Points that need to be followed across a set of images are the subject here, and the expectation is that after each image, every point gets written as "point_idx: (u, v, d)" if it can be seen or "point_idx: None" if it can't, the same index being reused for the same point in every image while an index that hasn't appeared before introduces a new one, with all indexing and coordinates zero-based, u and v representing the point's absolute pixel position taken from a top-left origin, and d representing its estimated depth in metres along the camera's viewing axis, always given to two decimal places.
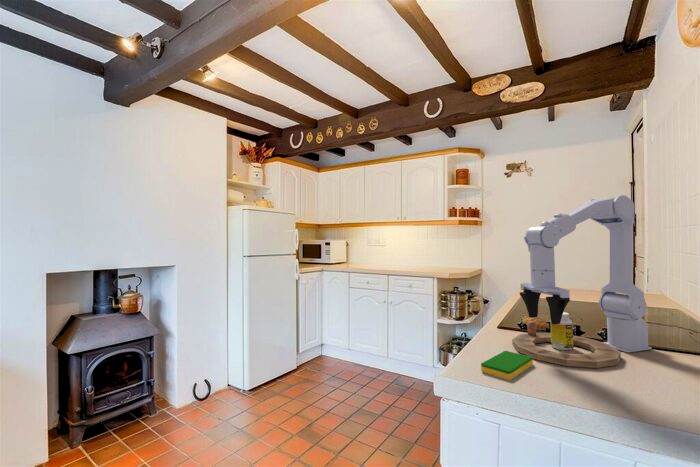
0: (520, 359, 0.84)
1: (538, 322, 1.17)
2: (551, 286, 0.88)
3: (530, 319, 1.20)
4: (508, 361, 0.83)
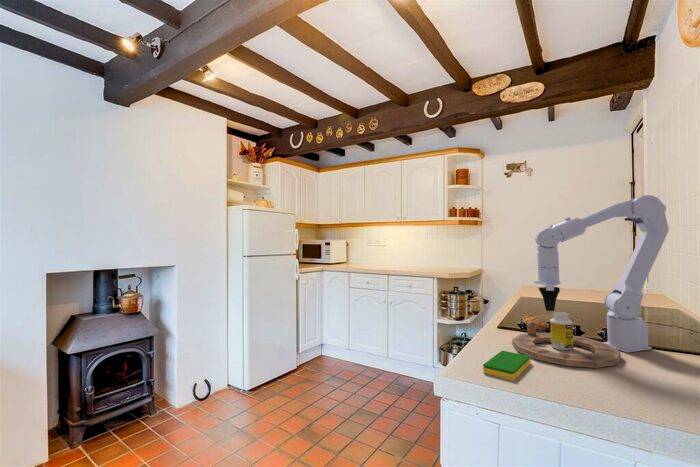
0: (519, 358, 0.84)
1: (539, 322, 1.18)
2: (549, 281, 1.02)
3: (531, 319, 1.20)
4: (508, 361, 0.83)
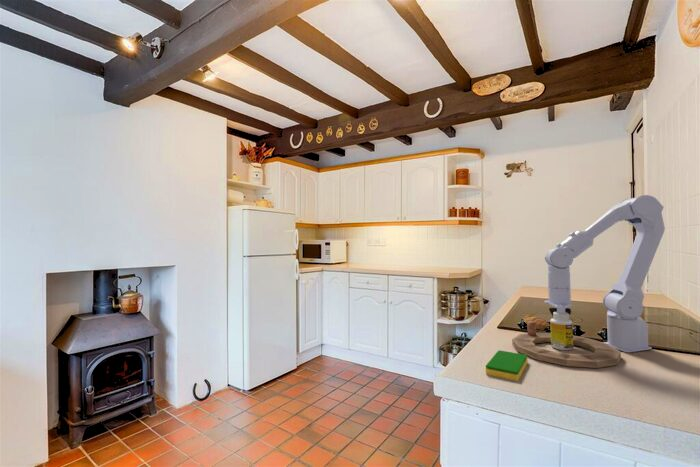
0: (518, 358, 0.85)
1: (539, 322, 1.18)
2: (560, 302, 0.99)
3: (531, 319, 1.20)
4: (509, 361, 0.83)
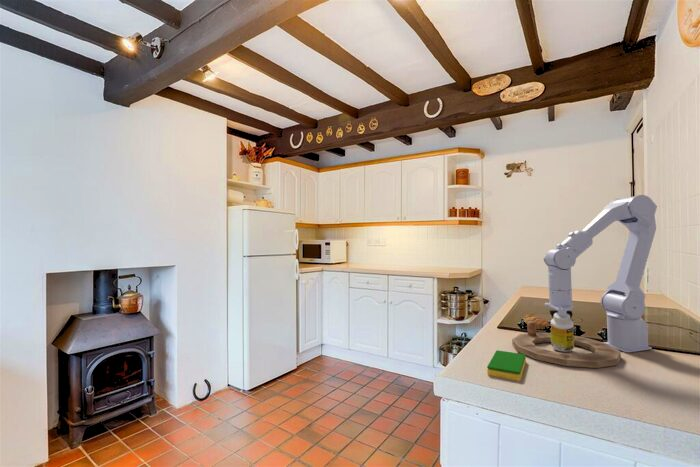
0: (517, 358, 0.85)
1: (540, 322, 1.18)
2: (561, 304, 0.96)
3: (532, 319, 1.20)
4: (509, 361, 0.83)
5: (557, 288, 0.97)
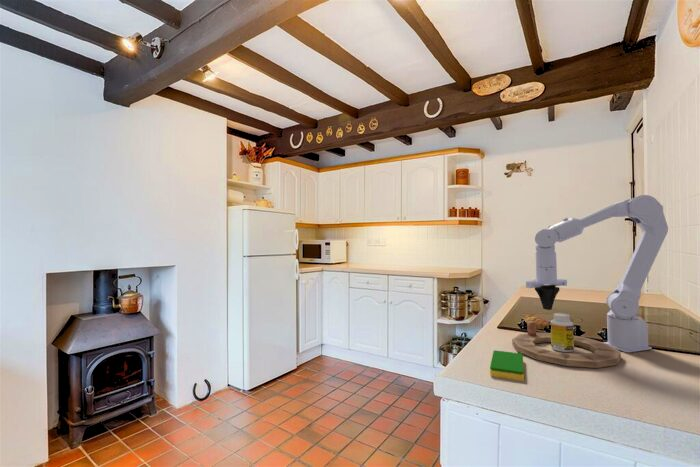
0: (516, 357, 0.85)
1: (540, 321, 1.18)
2: (539, 279, 1.06)
3: (532, 319, 1.21)
4: (510, 361, 0.83)
5: (539, 265, 1.06)
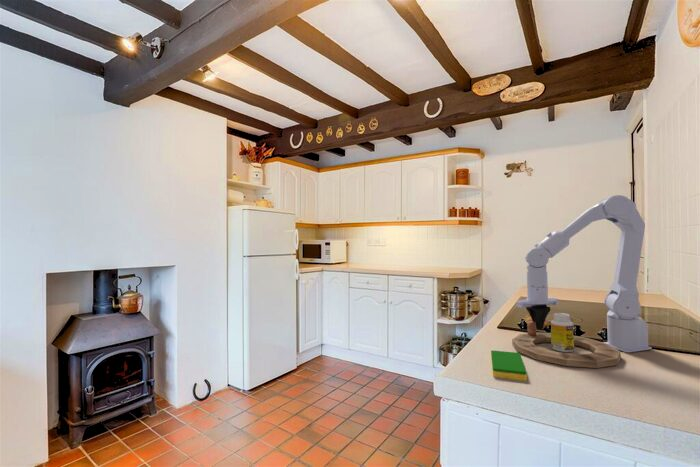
0: (515, 357, 0.85)
1: None
2: (530, 299, 1.05)
3: None
4: (510, 361, 0.83)
5: (531, 284, 1.05)
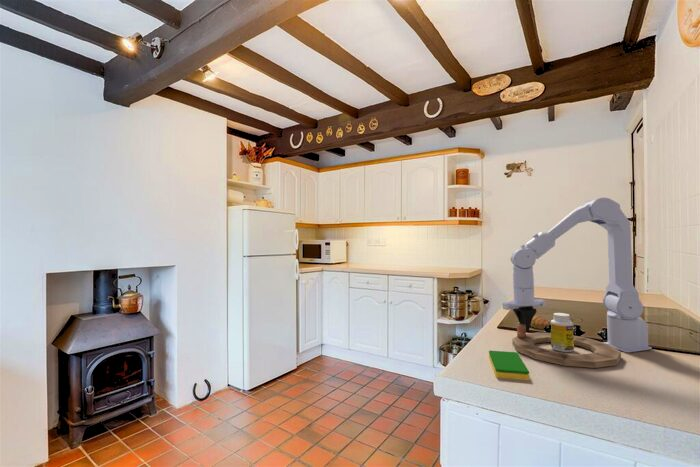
0: (514, 356, 0.86)
1: (541, 321, 1.19)
2: (516, 301, 1.04)
3: (533, 318, 1.21)
4: (510, 361, 0.83)
5: (518, 286, 1.03)
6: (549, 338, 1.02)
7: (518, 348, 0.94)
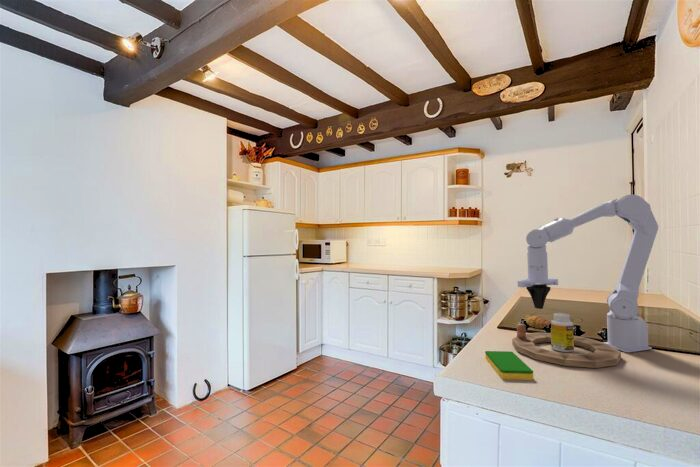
0: (512, 356, 0.86)
1: (542, 321, 1.19)
2: (530, 279, 1.08)
3: (533, 318, 1.21)
4: (511, 361, 0.83)
5: (530, 264, 1.08)
6: (549, 338, 1.02)
7: (518, 348, 0.94)
